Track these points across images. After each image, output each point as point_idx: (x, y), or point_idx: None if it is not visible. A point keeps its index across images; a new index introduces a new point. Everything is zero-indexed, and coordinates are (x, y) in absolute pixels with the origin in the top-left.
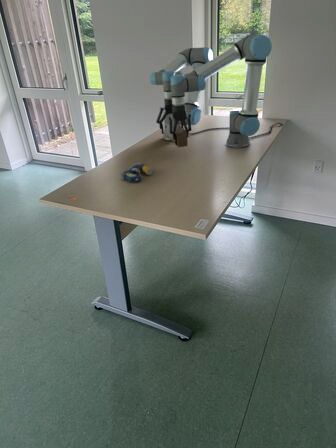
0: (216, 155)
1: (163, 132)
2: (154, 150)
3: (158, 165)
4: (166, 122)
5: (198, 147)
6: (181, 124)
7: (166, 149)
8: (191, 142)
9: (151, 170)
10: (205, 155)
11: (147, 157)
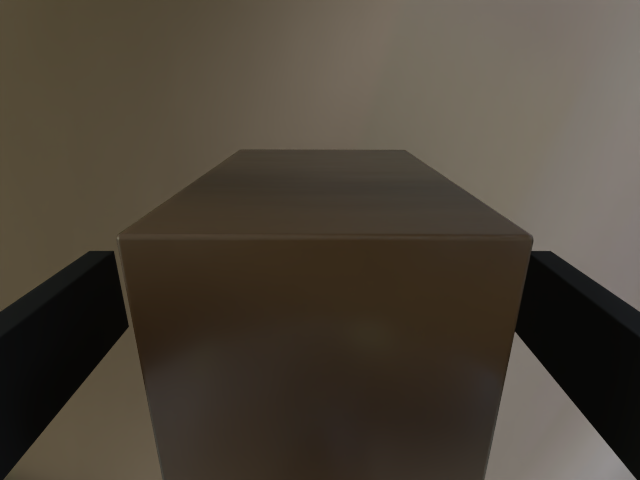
0: (591, 464)
1: (110, 346)
2: (101, 103)
3: (126, 471)
4: (131, 256)
5: (581, 234)
6: (606, 370)
7: (245, 135)
8: (616, 9)
9: None
10: (521, 435)
11: (28, 285)
